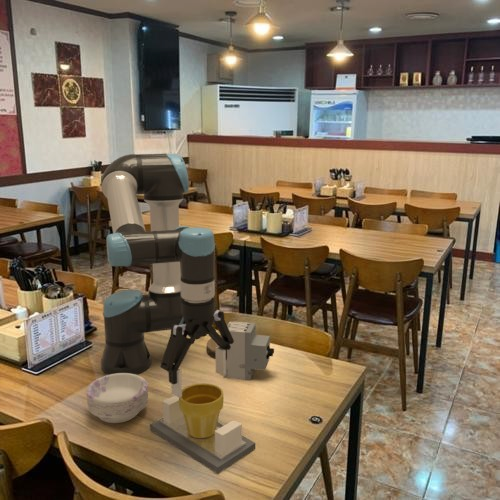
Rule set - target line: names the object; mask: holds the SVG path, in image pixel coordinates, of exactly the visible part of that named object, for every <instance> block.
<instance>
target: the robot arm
mask: <svg viewBox="0 0 500 500" xmlns="http://www.w3.org/2000/svg"><path fill="white" fill-rule="evenodd" d="M100 181H101V182H100V183H101V184H100V185H101V191H102V194H103V195H104V197H105V198H106V199H107V205H108V211H109V215H110V221H111V222H110V223H111V229H112V233H110V234H109V233H108V235H107V236H106V239H105V241H106V253H107V254H106V255H107V262H108V264H109V265H110V266H112V267H125V268H127V267H130V266H131V267H132V266H141V265H152V278H153V282H152V284H151V285H150V286H149V287H148V293H147V294H143V293H142V291H141V290H139V289H125V290H124V289H123V290H119V291H117V292H115V293H111V294H110V295H108V296H107V297H105V299H104V300H103V305H102V306H103V307H102V308H103V309H102V310H103V312H102V316H103V323H104V341H105V345H104V349H103V353H102V356H101V359H100V360H101V361H100V367H101V371H102V372H103V373H104V374H106V375H110V374H116V373H130V374H135V375H138V374H141V373H144V371H146V370H148V369H149V368H150V367H151V365H152V358H151V357H152V356H151V353H150V351H149V348H148V347H147V344H146V341H145V333H154V332H162V331H170V336H169V340H168V341H167V344H166V347H165V351H164V354H163V357H162V360H161V362H160V368H161V369H162V370H165V371H167V372H168V382H169V383H170V384H171V387H170V388H171V394H172V395H173V396H177V397H179V398H180V397H182V389H183V388H182V387H183V386H182V385H183V384H182V369H180V366H181V365H182V363H183V361H184V359H185V356H186V355H187V353H188V351H189V349H190V347H191V345H194V343H195V341H197V340H199V339H201V338H202V337H206V336H207V335H208V336H207V337H210V339H211V338H212V339H213V340H214V341H215V343H216V344H217V345H218V346H219V347H216V348H215V349H216V359H215V374H216V373H217V374H219V375H221V376H223V377H224V375H226V360H227V350H230V348H231V346H230V344H233V342H234V340H233V338H232V335H231V333H230V331H229V329H228V327H227V325H228V324H227V322H226V320H225V313H224V311H222V310H219V309H216V299H215V294H216V291H215V288H216V287H215V283H216V282H215V250H216V249H215V248H216V243H215V234H214V232H213V230H212V229H210V228H206V227H201V226H200V227H199V226H197V227H196V226H194V227H192V226H191V227H190V226H187V225H180V211H179V210H180V208H179V205H180V204H181V203H182V202H183V200H184V194H187V193H188V192H189V190H190V188H189V187H190V181H189V174H188V170H187V165H186V163H185V160H184V159H183V157H182V156H181V155H180V154H178V153H167V152H166V153H143V154H142V153H141V154H136V153H133V154H131V153H130V154H125V155H122V156H120V157H119V158H116V159H115V160H114V161H112V162H111V163H110V164H109V165H107V167H106V169H105V171H103V173H102V177H101V180H100ZM137 195H138V196H139V195H143V201H144V202H145V203H146V204H147V205H148V206H149V216H150V218H149V219H150V231H146V227H145V223H144V220H143V215H142V211H141V208H140V205H139V204H140V203H139V201H138V198H137ZM213 323H214V324H215V325H216V328H217V329H218V332H217V329H215V327H214V326H213ZM219 333H220V334H219ZM220 335H221V336H222V337H221V336H220ZM187 336H188V337H189V338H188V337H187Z"/></svg>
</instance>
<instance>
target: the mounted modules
mask: <svg viewBox="0 0 500 500" xmlns="http://www.w3.org/2000/svg"><path fill="white" fill-rule="evenodd" d="M162 413H163V414H162V415H163V417H162V418H164V420H165V421H167V422H168V423H172V422H174V421H175V420H177V419H179V418H181V417H183V416H184V415H183V413H182V412H181V410H180V407H179V397H177V396H175V395H173V396H171V397H168V398H167V399H164V400H162ZM223 425H224V426H222V427H221V428H219V429H217V430H216V431H215V451H216V452H218V453H219V454H221V455H225V454H226V453H228V452H229V451H231V450H233V449H234V448H236V447H237V446H239V445H240V444H242V436H243V433H242V432H243V431H242V429H243V426H242V425H243V424H242V423H241V422H238V421H236V420H235V419H234V420H231V421H230V422H228V423H226V424H223Z"/></svg>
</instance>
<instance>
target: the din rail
mask: <svg viewBox="0 0 500 500" xmlns="http://www.w3.org/2000/svg"><path fill="white" fill-rule="evenodd" d="M162 418H163V417H162ZM162 418H160V419H161V420H160V419H158V420H159V423H161V424H162V425H164V426H165V427H167V428H169V429H170V430H172V431H174V432H175V433H177V434H178V435H180V436H182V437H183V438H185V439H186V440H188V441H190V442H191V443H193V444H194V445H196V446H198V447H199V448H201V449H202V450H204V451H206V452H207V453H209V454H210V455H212V456H214V457H215V458H217V459H219V460H220V461H222V460H224V459H225V458H227V457H228V456H230V455H232V454H233V453H235V452H236V451H238V450H239V449H241V448H242V447H244V446H245V445H246V442H244V441H242V444H240V445H239V446H237V447H236V448H234V449H233V450H231V451H229V452H228V453H226V454H225V455H221V454H219V453H218V452H216V451H215V433H214V434H213V435H212V436H210V437H207V438H195V437H192V436H191V435H190V434H189V433H188V430H187V426H186V422H185V419H184V416H183V417H181V418H179V419H177V420H175V421H174V422H172V423H168V422H167V421H165V420H164V418H163V419H162ZM217 429H219V427H218V426H217V427H216V430H217Z"/></svg>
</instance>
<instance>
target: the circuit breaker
mask: <svg viewBox="0 0 500 500" xmlns="http://www.w3.org/2000/svg"><path fill="white" fill-rule="evenodd" d="M227 327H228V329H229V331H230V333H231V335H232V338H233V340H234V342H233V344H230V346H231V348H230V350H227V360H226V375H224V376H223V378H224V379H225V378H227V379H231V380H232V379H234V380H243V381H251V380H252V378H253V375H254V373H255V371H256V370H263V371H265V370H267V368H268V367H267V366H268V364H269V362H270V360H271V359H270V357H273V355H274V354H275V353H274V352H275V348H274V347H273V348H271V345H270V344H271V337H270V335H261V334H257V331H256V322H245V321H229V322H228V324H227Z"/></svg>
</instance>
